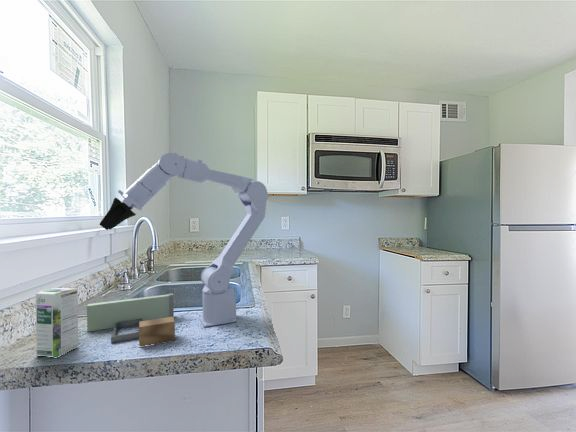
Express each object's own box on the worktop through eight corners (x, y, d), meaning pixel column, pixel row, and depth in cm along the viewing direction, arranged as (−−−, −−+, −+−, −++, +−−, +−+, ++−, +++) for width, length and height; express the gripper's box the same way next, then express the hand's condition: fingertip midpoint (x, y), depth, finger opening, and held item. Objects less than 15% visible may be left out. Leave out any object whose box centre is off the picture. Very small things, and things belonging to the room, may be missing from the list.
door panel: (173, 316, 92) (172, 293, 92) (173, 318, 89) (173, 294, 89) (88, 328, 82) (88, 303, 82) (87, 331, 80) (86, 305, 80)
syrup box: (34, 357, 66) (33, 293, 66) (59, 345, 72) (58, 286, 72) (56, 359, 65) (55, 293, 65) (79, 347, 71) (78, 287, 71)
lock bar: (173, 335, 77) (173, 316, 77) (175, 341, 74) (174, 321, 74) (139, 341, 74) (139, 321, 74) (139, 347, 70) (139, 327, 70)
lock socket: (141, 323, 85) (141, 318, 85) (141, 337, 76) (141, 332, 76) (115, 328, 82) (115, 322, 82) (111, 343, 73) (111, 337, 73)
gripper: (133, 181, 83) (95, 217, 79) (131, 173, 70) (85, 215, 66) (153, 198, 85) (117, 234, 81) (155, 193, 72) (112, 235, 68)
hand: (104, 227), depth 74 cm, fingers open, 7 cm apart
